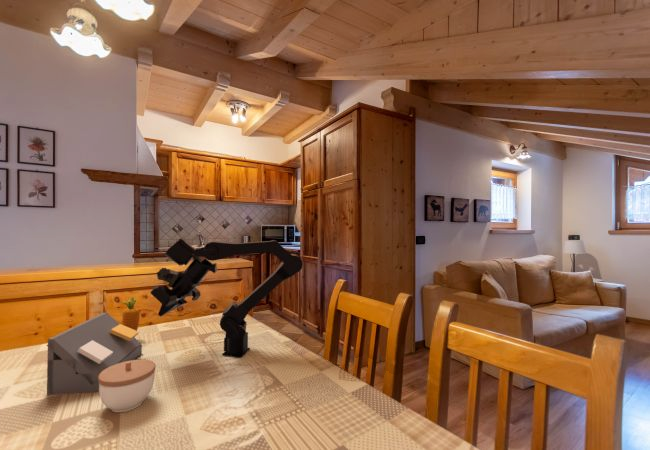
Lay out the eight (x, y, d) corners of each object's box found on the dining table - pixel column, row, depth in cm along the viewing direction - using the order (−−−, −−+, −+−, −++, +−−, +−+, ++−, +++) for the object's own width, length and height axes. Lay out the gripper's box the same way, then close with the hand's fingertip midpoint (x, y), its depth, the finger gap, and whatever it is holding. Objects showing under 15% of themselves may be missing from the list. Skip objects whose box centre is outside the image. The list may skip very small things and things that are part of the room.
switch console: (141, 353, 94) (142, 311, 94) (98, 391, 72) (99, 337, 72) (101, 355, 92) (102, 312, 92) (45, 394, 70) (46, 339, 71)
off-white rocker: (113, 354, 79) (109, 336, 78) (102, 363, 74) (98, 343, 73) (93, 359, 78) (89, 340, 78) (80, 368, 73) (76, 348, 73)
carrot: (130, 344, 101) (131, 299, 101) (118, 343, 102) (119, 299, 102) (142, 339, 105) (143, 296, 106) (130, 338, 106) (131, 295, 107)
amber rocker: (139, 334, 92) (134, 319, 92) (131, 340, 87) (126, 324, 87) (123, 339, 92) (117, 324, 92) (114, 346, 87) (108, 330, 87)
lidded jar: (111, 426, 60) (112, 379, 60) (88, 408, 66) (89, 365, 66) (164, 400, 69) (165, 359, 69) (140, 386, 75) (140, 348, 75)
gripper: (190, 259, 103) (160, 295, 102) (156, 257, 85) (119, 301, 83) (213, 280, 101) (183, 317, 100) (184, 282, 83) (146, 327, 82)
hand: (159, 315), depth 91 cm, fingers closed
